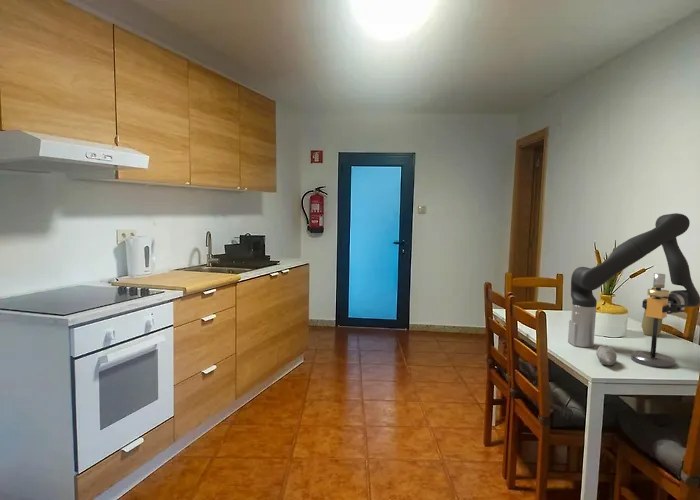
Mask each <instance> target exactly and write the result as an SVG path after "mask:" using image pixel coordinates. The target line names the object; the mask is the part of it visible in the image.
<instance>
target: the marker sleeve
mask: <svg viewBox="0 0 700 500" xmlns="http://www.w3.org/2000/svg"><path fill="white" fill-rule="evenodd" d="M646 299H647V309H646V316H648V317H654V318H659V319H666V318H667V316H668V314H667V312H665V313H663V312H662V308H663V306H667V305H668V299H666V298H660V299H655V297H654V296H650V297H647V298H646Z"/></svg>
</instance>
